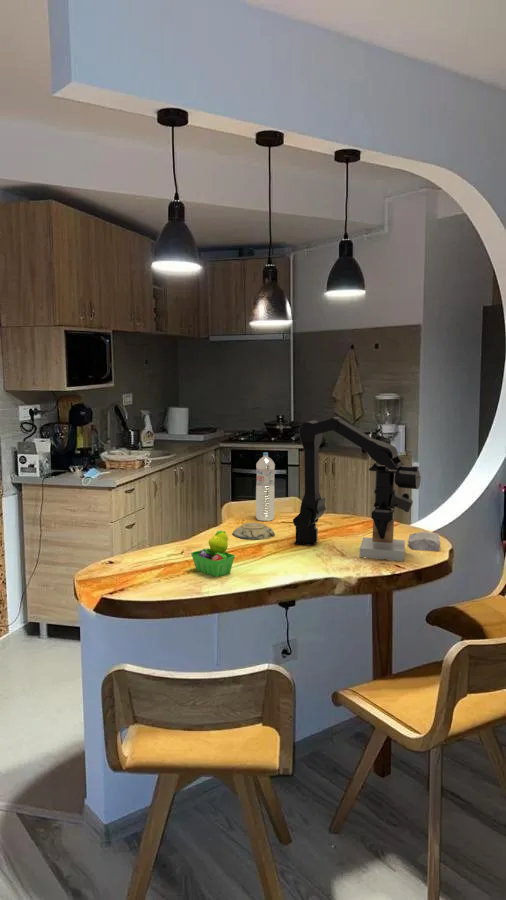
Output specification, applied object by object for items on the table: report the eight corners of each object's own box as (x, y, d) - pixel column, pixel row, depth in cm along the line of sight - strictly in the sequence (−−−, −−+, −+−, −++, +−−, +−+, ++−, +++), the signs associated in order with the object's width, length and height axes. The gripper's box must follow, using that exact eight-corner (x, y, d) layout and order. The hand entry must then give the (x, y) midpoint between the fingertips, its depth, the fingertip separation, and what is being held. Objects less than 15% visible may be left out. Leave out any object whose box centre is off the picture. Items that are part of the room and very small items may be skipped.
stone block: (410, 556, 217) (442, 551, 215) (407, 541, 217) (439, 536, 215) (409, 547, 229) (440, 543, 227) (406, 533, 229) (437, 528, 227)
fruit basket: (189, 570, 196) (189, 531, 194) (212, 563, 202) (212, 526, 200) (216, 579, 188) (216, 539, 186) (239, 572, 194) (239, 533, 192)
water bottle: (253, 517, 258) (254, 451, 255) (270, 516, 261) (271, 451, 257) (259, 522, 252) (259, 454, 249) (276, 520, 254) (277, 453, 251)
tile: (359, 557, 208) (359, 548, 208) (363, 546, 221) (363, 537, 220) (403, 561, 205) (403, 551, 205) (404, 549, 218) (404, 540, 217)
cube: (372, 541, 210) (372, 522, 209) (373, 536, 216) (374, 518, 215) (392, 543, 209) (393, 523, 208) (393, 538, 215) (393, 519, 214)
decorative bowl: (236, 529, 244) (227, 539, 229) (236, 519, 243) (227, 528, 228) (278, 531, 241) (271, 542, 226) (278, 521, 240) (272, 531, 226)
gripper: (411, 493, 199) (409, 545, 201) (412, 482, 217) (410, 530, 219) (372, 491, 202) (370, 543, 204) (376, 480, 220) (374, 527, 222)
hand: (382, 535), depth 212 cm, fingers closed on cube, 6 cm apart
